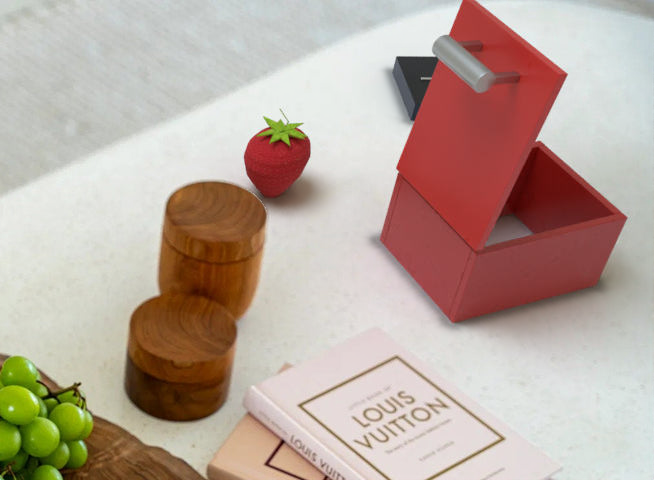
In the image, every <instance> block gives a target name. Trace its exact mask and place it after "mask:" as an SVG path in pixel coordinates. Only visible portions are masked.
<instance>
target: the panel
mask: <svg viewBox="0 0 654 480" xmlns="http://www.w3.org/2000/svg"><path fill="white" fill-rule="evenodd" d="M438 61H439V59H438V58H437V57H436V56H431V55H430V56H427V55H425V56H424V55H422V56H420V55H419V56H417V55H415V56H414V55H413V56H412V55H411V56H410V55H408V56H407V55H397V56H395V61H394V64H393V68H392V71H391V72H392V76H393V78H394V80H395V84H396V86H397V89H398V91H399V94H400V96H401V99H402V101H403V105H404V107H405V110H406V112H407V115H408V117H409V120H410V121H411V122H414V121H415V119H416V116H417V114H418V111H419V109H420V106H421V104H422V101H423V99H424V96H425V94H426V91H427V89H428V86H429V83H430V81H431V78H432V76H433V73H434V71H435V68H436V66H437V63H438Z"/></svg>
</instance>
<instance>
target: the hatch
mask: <svg viewBox="0 0 654 480" xmlns="http://www.w3.org/2000/svg"><path fill="white" fill-rule="evenodd" d="M431 52H432V54H433V55H434V57H437V58H438V59H439V61H438V63H437V66H436V68H435V71H434V73H433V76H432V78H431V81H430V83H429V86H428V89H427V91H426V94H425V96H424V99H423V101H422V104H421V106H420V109H419V111H418V114H417V116H416V119H415V121H413V124H412V127H411V129H410V131H409V134H408V135H407V139H406V141H405V144H404V147H403V149H402V152H401V154H400V156H399V159H398V162H397V164H396V166H395V169H396V171H398V172H400V173H401V174H402V175H403V176H404V178H405V179H406V180H407V181H408V182H409V183H410V184H411V185H412V186H413V187H414V188H415V189H416V190H417V191H418V192H419V193H420V194H421V195H422V196H423V197H424V198H425V199H426V200H427V201H428V202H429V203H430V205H431V206H432V207H433V208H434V209H435V210H436V211H437V212H438V213H439V214H440V215H441V216H442V217H443V218H444V219H445V220H446V221H447V222H448V223H449V224H450V225H451V226H452V227H453V228H454V229H455V230H456V232H457V233H458V234H459V235H460V236H461V237H462V238H463V239H464V240H465V241H466V242H467V243H468V244H469V245H470V246H471V247H472V248H473V249H474V250H475V251H478V250H483V248H484V247H485V246H486V243H487V242H488V240H489V237H490V236H491V233H492V231H493V229H494V228H495V226H496V223H497V221H498V219H499V218H500V217H499V215H500V213H501V211H502V209H503V207H504V205H505V203H506V201H507V199H508V197H509V194H510V192H511V190H512V188H513V186H514V184H515V182H516V180H517V178H518V176H519V174H520V172H521V170H522V168H523V166H524V164H525V162H526V160H527V158H528V155H529V153H530V151H531V149H532V147H533V145H534V143H535V142H536V141H537V139H538V137H539V135H540V133H541V131H542V129H543V127H544V125H545V122H546V120H547V119H548V117H549V114H550V112H551V111H552V108H553V106H554V105H555V102H556V100H557V98H558V96H559V94H560V92H561V90H562V88H563V86H564V83H565V82H566V79H567V77H568V75H569V74H568V72H566V71H565V70H564V69H563V68H561V67H560V66H559V65H558V64H556V63H555V62H554V61H553V60H551V59H550V58H548V57H547V56H546V55H545V54H543V53H542V52H541V51H540V50H539V49H538V48H536V47H535V46H533V45H532V44H531V43H530V42H528V41H527V40H526V39H525V38H524V37H522V36H521V35H519V33H517V32H516V31H515V30H513V29H512V28H511V27H509V25H507V24H506V23H505V22H503V21H502V20H501V19H499V18H498V17H497V16H496V15H495V14H493V13H492V12H491V11H489V9H487V8H486V7H484V6H483V5H482V3H479V2H478V0H462V1H461V3H460V6H459V8H458V11H457V13H456V16H455V18H454V20H453V24H452V26H451V27H450V30H449V33H448V34H442V35H441V36H439V37H438V38H437V39H436V40H434V42H433V44H432V47H431Z"/></svg>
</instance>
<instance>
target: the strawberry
mask: <svg viewBox="0 0 654 480" xmlns="http://www.w3.org/2000/svg"><path fill="white" fill-rule="evenodd" d="M279 111H280V113H281V114H282V115H283V118H285V120H286V121H287V123H286V124H285V123H284V122H283V120H282V119H281V118H280V119H279V120H278V121H275V120H273V119H271V118H269V117H267V116H265V115H263V116H262V118H263V119H264V121H265V123H266V124H267V127H264V128H263V129H261V130H260V131H258V132H257V133H256V134H254V135H253V136H252V137H251V138H250V139H249V141H248V143H247V145H246V147H245V150H244V153H243V161H244V167H245V173H246V176H247V178H249V180H250V182H251V183H252V184H253V186H254V187H255V188H256V190H258V192H259V193H260V194H262V196H263V197H266V198H271V199H272V198H277V197H279V196H281V195H282V194H283V193H284V192H286V191H287V190H288V189H289V188H290V187H291V186H292V185H293V184H295V181H297V180H298V179H299V178H300V177H301V175H302V174H303V172H304V170H305V168H306V167H307V164H308V163H309V161H310V158H311V154H312V150H311V147H312V146H311V145H312V143H311V140H310V138H309V136H308V135H307V134H306V133H305V132H304V131H303V130H302V129H300V128H299V127H300V126H302V125H304V124H305V122H291V123H290V120H289V119H288V117H287V116H286V115H285V113H284V112H283V110H282V109H281V108H279Z"/></svg>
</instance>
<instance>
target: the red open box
mask: <svg viewBox="0 0 654 480" xmlns="http://www.w3.org/2000/svg"><path fill="white" fill-rule="evenodd" d="M395 178H396V179H395V182H394V186H393V190H392V192H391V197H390V200H389V204H388V207H387V211H386V215H385V219H384V222H383V226H382V229H381V233H380V237H379V241H380V243H381V244H382V245H383V246H384V247H385V248H386V250H388V252H389V253H391V255H392V256H393V257H394V258H395V259H396V260H397V262H398V263H399V264H400V265H401V266H402V267H403V269H404V270H405V271H406V272H407V273H408V274H409V275H410V276H411V277H412V279H413V280H414V281H415V282H416V283H417V284H418V285H419V287H420V288H421V289H422V290H423V291H424V292H425V294H426V295H427V296H428V297H429V298H430V299H431V300H432V302H433V303H434V304H435V305H436V306H437V308H439V309H440V310H441V312H442V313H443V314H444V315H445V316H446V317H447V318H448V320H449V321H450V322H451V323H452V324H455V323H458V322H463V321H466V320H470V319H474V318H477V317H481V316H485V315H486V316H487V315H489V314H493V313H496V312H501V311H504V310H508V309H512V308H515V307H520V306H524V305H527V304H532V303H535V302H539V301H542V300H547V299H550V298H554V297H557V296H562V295H565V294H569V293H572V292H576V291H580V290H585V289H588V288H591V287H595V286H597V284H598V283H599V280H600V278H601V276H602V274H603V272H604V270H605V267H606V265H607V263H608V261H609V259H610V257H611V255H612V252H613V250H614V249H615V246H616V243H617V242H618V239H619V238H620V236H621V234H622V231H623V230H624V227H625V225H626V222H627V220H628V216H627V215H625V213H623V212H622V211H621V210H620V209H619V208H618V207H616V205H614V203H612V202H611V201H610V200H608V198H606V197H605V196H604V195H603V194H602V193H600V191H599V190H597V189H596V188H595V187H593V185H591V183H589V182H588V181H587V180H586V179H585V178H584V177H582V176H581V175H580V174H579V173H578V172H577V171H576V170H575V169H573V168H572V167H571V166H570V165H569V164H567V163H566V162H565V161H564V160H563V159H562V158H561V157H559V156H558V154H556V153H555V152H554V151H553V150H551V149H550V148H549V146H547V145H546V144H545V143H544V142H543V141H541V140H536V141H535V143H534V145H533V147H532V149H531V151H530V153H529V155H528V158H527V160H526V162H525V164H524V166H523V168H522V170H521V172H520V174H519V176H518V178H517V180H516V182H515V184H514V186H513V188H512V190H511V192H510V194H509V197H508V199H507V201H506V203H505V205H504V207H503V209H502V211H501V213H500V215H499V217H498V218H500V217H504V216H508V215H514V216H515V217H516V218H518V220H519V221H520V222H521V223H522V224H523V225H524V226H525V227H526V228H527V229H528V230H529V231H530V232H531V233H533V234H530V235H526V236H522V237H517V238H513V239H509V240H505V241H501V242H497V243H493V244H489V245H485V246H484V248H483V250H478V251H475V250H474V249H473V248H472V247H471V246H470V245H469V244H468V243H467V242H466V241H465V240H464V239H463V238H462V237H461V236H460V235H459V234H458V233H457V232H456V230H455V229H454V228H453V227H452V226H451V225H450V224H449V223H448V222H447V221H446V220H445V219H444V218H443V217H442V216H441V215H440V214H439V213H438V212H437V211H436V210H435V209H434V208H433V207H432V206H431V205H430V203H429V202H428V201H427V200H426V199H425V198H424V197H423V196H422V195H421V194H420V193H419V192H418V191H417V190H416V189H415V188H414V187H413V186H412V185H411V184H410V183H409V182H408V181H407V180H406V179H405V178H404V176H403V175H402V174H401V173H400V172H399V171H398V172H397V175H396V177H395Z"/></svg>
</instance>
